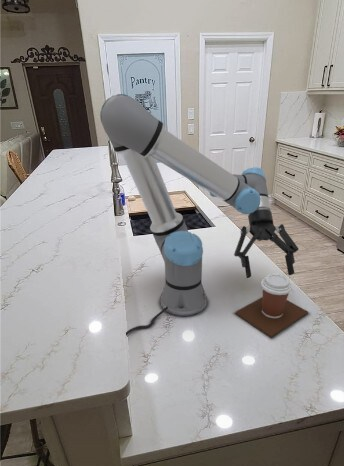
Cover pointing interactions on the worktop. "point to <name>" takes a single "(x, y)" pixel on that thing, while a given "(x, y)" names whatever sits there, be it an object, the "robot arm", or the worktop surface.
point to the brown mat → (271, 325)
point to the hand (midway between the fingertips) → (270, 275)
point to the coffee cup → (275, 294)
